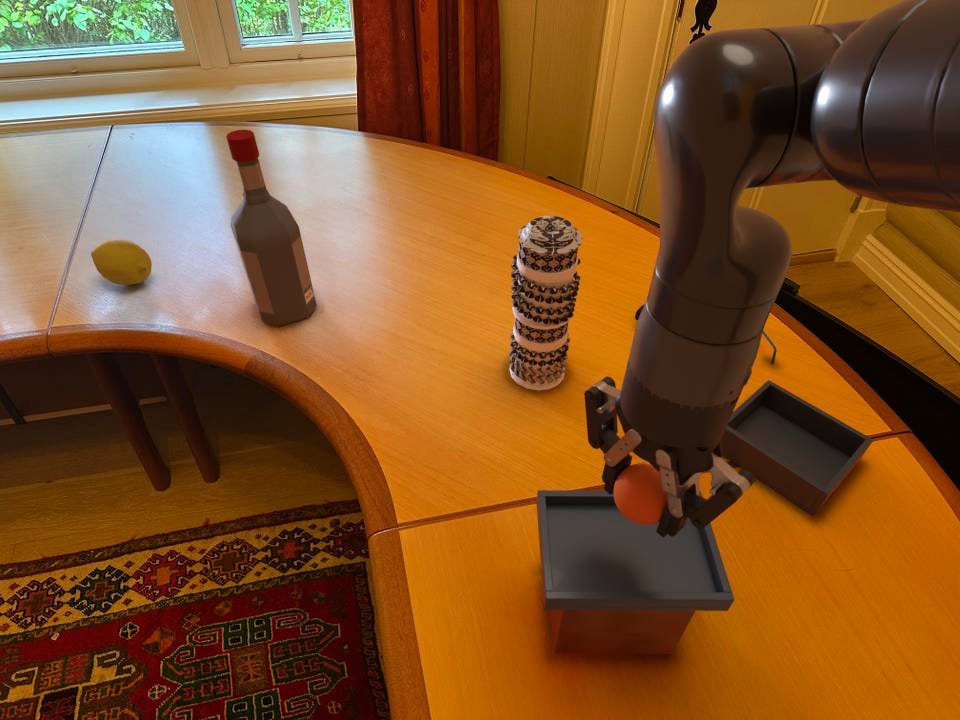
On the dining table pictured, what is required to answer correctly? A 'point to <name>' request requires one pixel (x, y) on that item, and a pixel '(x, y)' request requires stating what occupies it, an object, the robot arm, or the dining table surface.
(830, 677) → the dining table surface
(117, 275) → the lemon
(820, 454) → the bin
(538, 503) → the tray
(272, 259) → the liquor
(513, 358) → the decorative candle
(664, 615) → the stand
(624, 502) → the ball
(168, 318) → the dining table surface
